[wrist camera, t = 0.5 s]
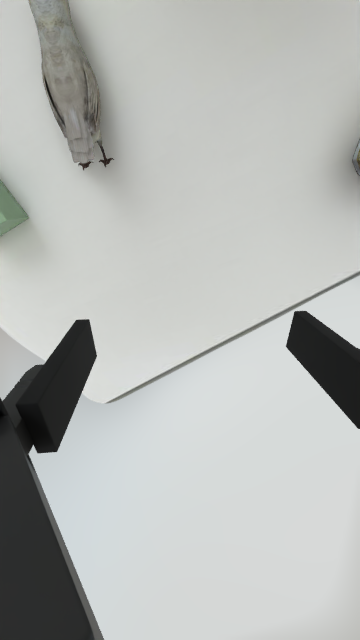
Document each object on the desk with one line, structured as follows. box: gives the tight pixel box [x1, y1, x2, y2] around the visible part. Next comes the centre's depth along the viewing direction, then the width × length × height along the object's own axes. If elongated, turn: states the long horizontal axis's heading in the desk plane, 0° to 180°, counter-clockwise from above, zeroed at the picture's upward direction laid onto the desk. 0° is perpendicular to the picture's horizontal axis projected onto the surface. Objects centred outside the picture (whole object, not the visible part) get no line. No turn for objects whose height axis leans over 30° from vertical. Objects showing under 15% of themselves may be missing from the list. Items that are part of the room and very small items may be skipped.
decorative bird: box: [29, 0, 114, 170], centre depth 25 cm, size 5×16×7 cm, turn 8°
